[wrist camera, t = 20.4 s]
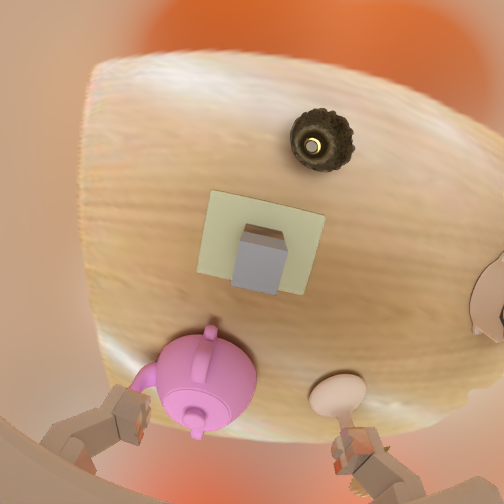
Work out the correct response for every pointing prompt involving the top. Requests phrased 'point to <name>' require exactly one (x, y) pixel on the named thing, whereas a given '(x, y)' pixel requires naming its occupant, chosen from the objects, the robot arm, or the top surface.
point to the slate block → (259, 263)
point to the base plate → (265, 215)
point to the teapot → (201, 381)
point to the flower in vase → (341, 406)
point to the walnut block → (264, 231)
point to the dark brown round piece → (322, 140)
